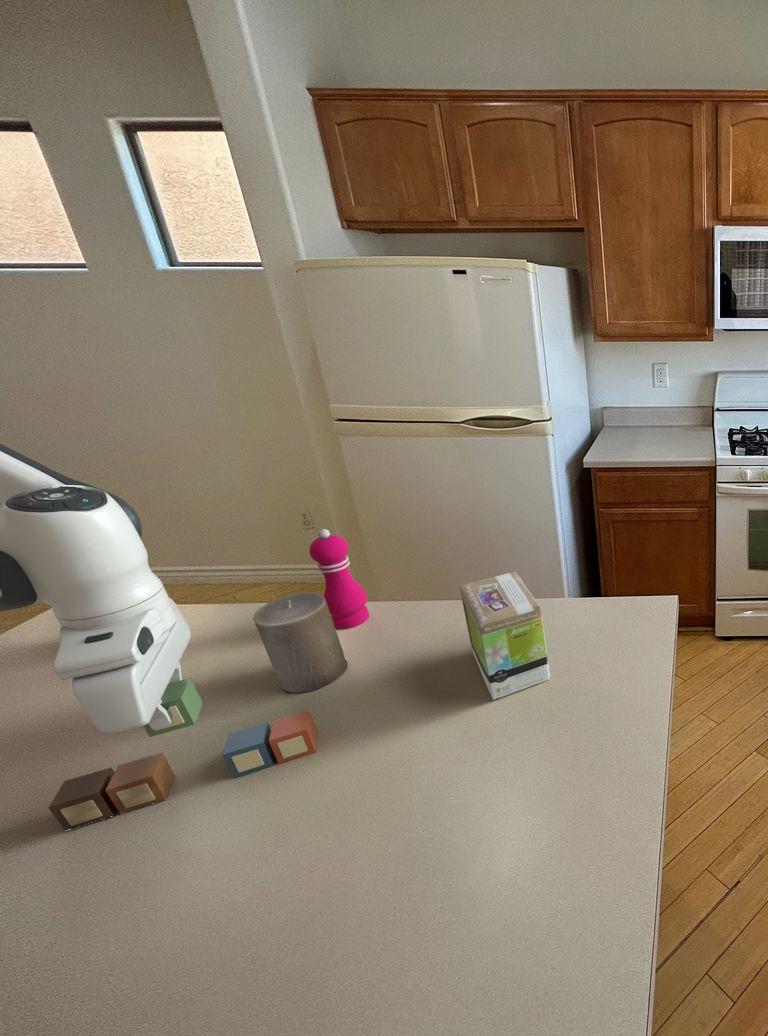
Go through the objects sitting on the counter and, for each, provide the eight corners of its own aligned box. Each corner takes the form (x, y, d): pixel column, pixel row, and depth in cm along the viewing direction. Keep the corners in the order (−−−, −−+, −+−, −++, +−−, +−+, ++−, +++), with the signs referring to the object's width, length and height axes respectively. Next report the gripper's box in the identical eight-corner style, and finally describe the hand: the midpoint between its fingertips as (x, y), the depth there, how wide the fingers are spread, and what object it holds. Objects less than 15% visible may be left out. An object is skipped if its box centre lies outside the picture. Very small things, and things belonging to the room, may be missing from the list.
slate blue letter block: (233, 779, 75) (221, 755, 74) (239, 756, 79) (228, 733, 77) (273, 766, 77) (262, 743, 76) (277, 744, 81) (267, 721, 79)
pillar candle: (353, 652, 101) (330, 581, 94) (338, 687, 92) (312, 612, 86) (291, 662, 98) (263, 590, 92) (270, 699, 89) (237, 622, 83)
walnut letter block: (64, 833, 68) (47, 808, 66) (80, 805, 72) (64, 780, 70) (113, 817, 70) (97, 793, 68) (126, 790, 74) (111, 767, 72)
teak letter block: (120, 815, 70) (104, 791, 68) (132, 789, 74) (117, 765, 72) (165, 801, 72) (151, 776, 70) (175, 775, 76) (162, 752, 74)
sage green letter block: (149, 738, 69) (133, 711, 67) (160, 715, 72) (145, 689, 71) (194, 725, 71) (181, 699, 69) (203, 703, 74) (190, 677, 73)
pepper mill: (333, 614, 112) (304, 524, 103) (374, 607, 114) (348, 519, 106) (326, 634, 106) (294, 540, 97) (369, 625, 108) (342, 534, 100)
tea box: (552, 679, 95) (542, 606, 88) (492, 702, 89) (476, 626, 83) (526, 635, 106) (515, 568, 100) (471, 653, 101) (456, 584, 95)
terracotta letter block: (278, 764, 78) (268, 741, 76) (282, 742, 81) (272, 720, 80) (315, 752, 80) (306, 730, 78) (318, 732, 83) (309, 709, 82)
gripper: (118, 586, 72) (162, 671, 78) (44, 678, 56) (106, 776, 61) (181, 574, 75) (219, 657, 80) (128, 658, 59) (180, 754, 64)
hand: (170, 709), depth 71 cm, fingers closed on sage green letter block, 4 cm apart
